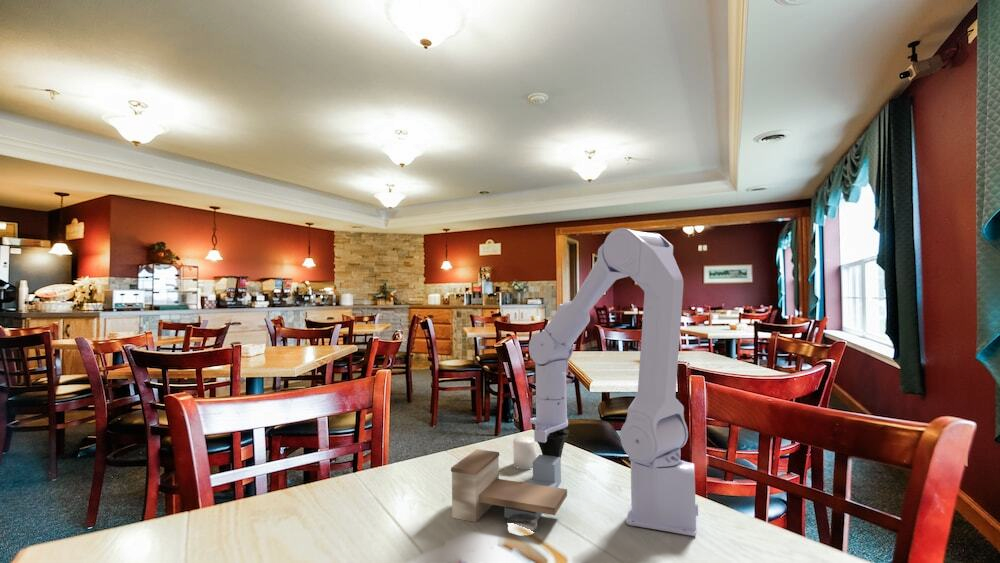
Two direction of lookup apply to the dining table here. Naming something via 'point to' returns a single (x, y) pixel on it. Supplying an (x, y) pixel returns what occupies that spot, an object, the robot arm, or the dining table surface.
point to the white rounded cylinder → (524, 452)
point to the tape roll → (524, 521)
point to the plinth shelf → (496, 489)
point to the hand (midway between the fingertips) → (552, 470)
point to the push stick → (541, 480)
